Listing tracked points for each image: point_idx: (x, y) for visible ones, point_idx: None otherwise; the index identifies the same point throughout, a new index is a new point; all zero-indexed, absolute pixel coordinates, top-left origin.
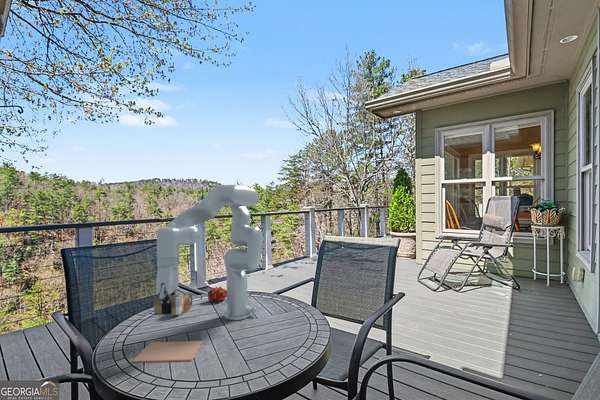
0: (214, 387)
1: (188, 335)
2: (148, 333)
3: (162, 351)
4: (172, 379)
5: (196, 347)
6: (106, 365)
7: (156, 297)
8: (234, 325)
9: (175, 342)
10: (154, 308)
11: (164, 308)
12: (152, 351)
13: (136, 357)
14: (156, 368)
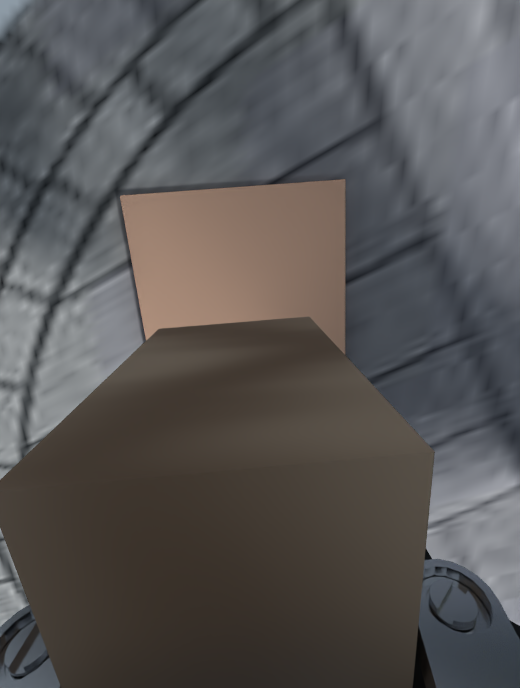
0: (14, 589)
1: (427, 356)
2: (496, 81)
3: (234, 309)
4: (25, 450)
5: None
6: (70, 44)
7: (127, 515)
8: (511, 526)
9: (334, 331)
10: (128, 363)
11: None
12: (230, 254)
13: (158, 196)
14: (90, 349)
